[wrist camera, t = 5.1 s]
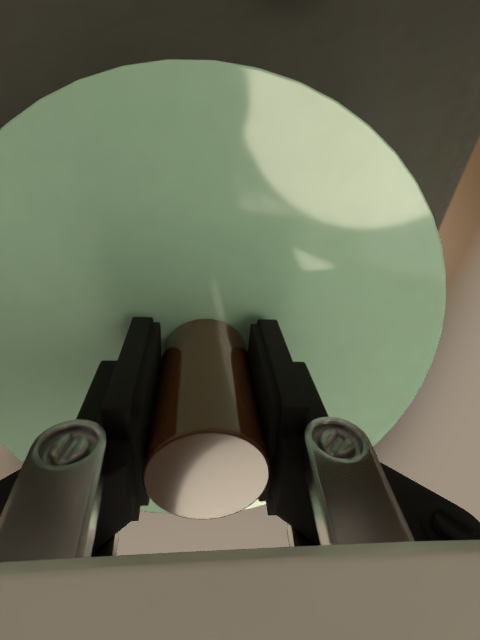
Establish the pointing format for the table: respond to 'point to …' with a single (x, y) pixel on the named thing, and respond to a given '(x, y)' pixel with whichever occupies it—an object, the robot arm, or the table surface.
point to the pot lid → (209, 263)
